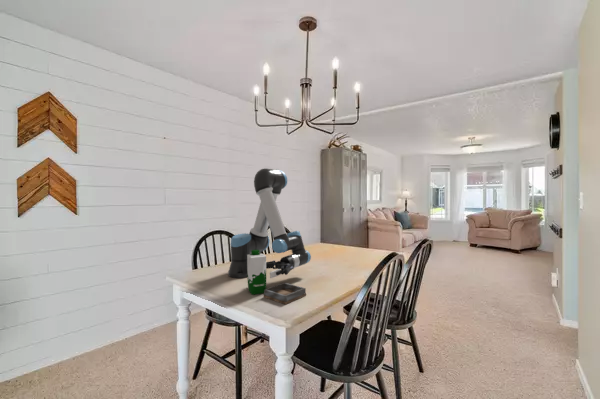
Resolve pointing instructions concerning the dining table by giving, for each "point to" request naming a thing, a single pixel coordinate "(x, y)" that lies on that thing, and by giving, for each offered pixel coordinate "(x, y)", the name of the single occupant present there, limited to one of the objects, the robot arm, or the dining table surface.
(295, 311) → the dining table surface
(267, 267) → the robot arm
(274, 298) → the dark gray tray
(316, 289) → the dining table surface
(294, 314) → the dining table surface
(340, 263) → the dining table surface
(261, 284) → the soya milk
